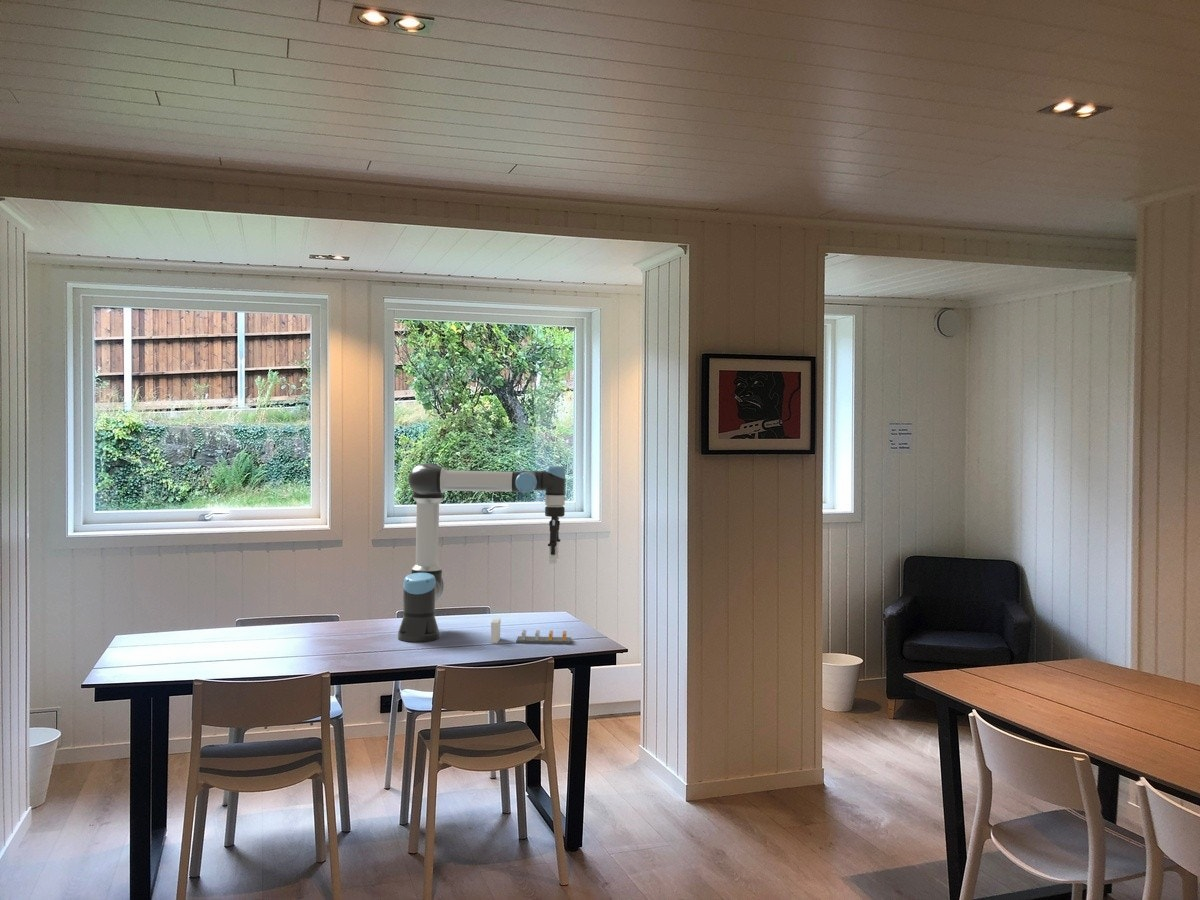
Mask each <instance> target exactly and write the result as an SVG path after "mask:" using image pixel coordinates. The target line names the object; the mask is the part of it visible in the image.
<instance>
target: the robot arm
mask: <svg viewBox="0 0 1200 900" xmlns="http://www.w3.org/2000/svg"><path fill="white" fill-rule="evenodd" d="M407 480H408V484H409V487H410V488H411V490H412V499H413V500H414V502H415V503H416V514H415V515H416V519H415V520H416V522H415V523H416V524H415V526H416V528H415V529H416V530H415V532H416V533H415V564H414V565H413V566H412V567H411V573H410V574H408V575H406V576H405V577H404V580H403V584H402V586H403V587H402V588H403V600H402V601H403V602H402V603H403V605H402V606H403V608H402V609H403V610H402V612H403V614H402V616H403V617H402V619H401V623H400V625H399V629H398V631H397V639H398V640H401V641H403V642H414V643H415V642H416V643H422V642H431V641H435V640H439V638H440V629H439V627H438V623H437V619H436V614H435V613H436V600H438V599H439V598H440V597H441V596H442V593H443V591H444V586H445V585H444V584H445V583H444V580H443V575H442V574H443V567H441V566H440V564H439V533H440V532H439V531H440V530H439V529H440V524H439V522H440V502H441V501H442V500H443V499H444V493H445V492H446V491H451V492H452V491H455V492H458V491H459V492H462V491H463V492H508V493H509V492H510V493H511V492H513V493H524V494H527V493H528V494H529V493H531V492H533V491H545V495H544V498H545V500H544V504H545V507H544V515H545V517H551V519H550V520H549V522H548V523H549V524H548V526H549V532H550V533H549V543H547V547H549V554H548V555H549V556H548V557H549V558H548V560H549V562H548V563H549V564H557V563H558V562H557V560H558V559H559V543H560V542H561V539H560V536H559V533H560V532H559V530H560V525H561V520H559V519H560V518H562V517H563V518H564V516H565V510H566V509H565V504H566V502H565V501H567V498H566V496H565V495H566V468H565V467H564V466H560V465H558V466H557V465H548V466H546V467H545V470H526V469H525V470H516V471H495V470H494V471H491V470H489V471H488V470H454V469H453V470H450V469H446V468H445V467H440V466H439V465H438V464H436V463H431V462H425V463H421V464H417V465H416V466H414V467H412V469H411V471H410V472H409V475H408V479H407Z"/></svg>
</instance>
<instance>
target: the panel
mask: <svg viewBox="0 0 1200 900" xmlns="http://www.w3.org/2000/svg"><path fill="white" fill-rule="evenodd" d="M490 624H491V625H490V626H491V627H490V643H491V644H498V643H499V642H500V639H501V618H498V617H496V618H495V617H493V619H492V621H491V623H490Z"/></svg>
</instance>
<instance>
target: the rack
mask: <svg viewBox="0 0 1200 900" xmlns="http://www.w3.org/2000/svg"><path fill="white" fill-rule="evenodd" d="M540 632H541V631H540V630H539V629H537V630H536V631H535V634H534V636H528V635H527V630H526V629H523V630H522V632H521V636H520V635H519V636H517V638H516V640H515V641H516V644H546V645H547V644H548V645H549V644H551V645H557V644H558V645H572V637H567V630H563V631H562V636H554V630H549V631H548V632H549V633H548V636H540V635H541V633H540Z"/></svg>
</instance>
